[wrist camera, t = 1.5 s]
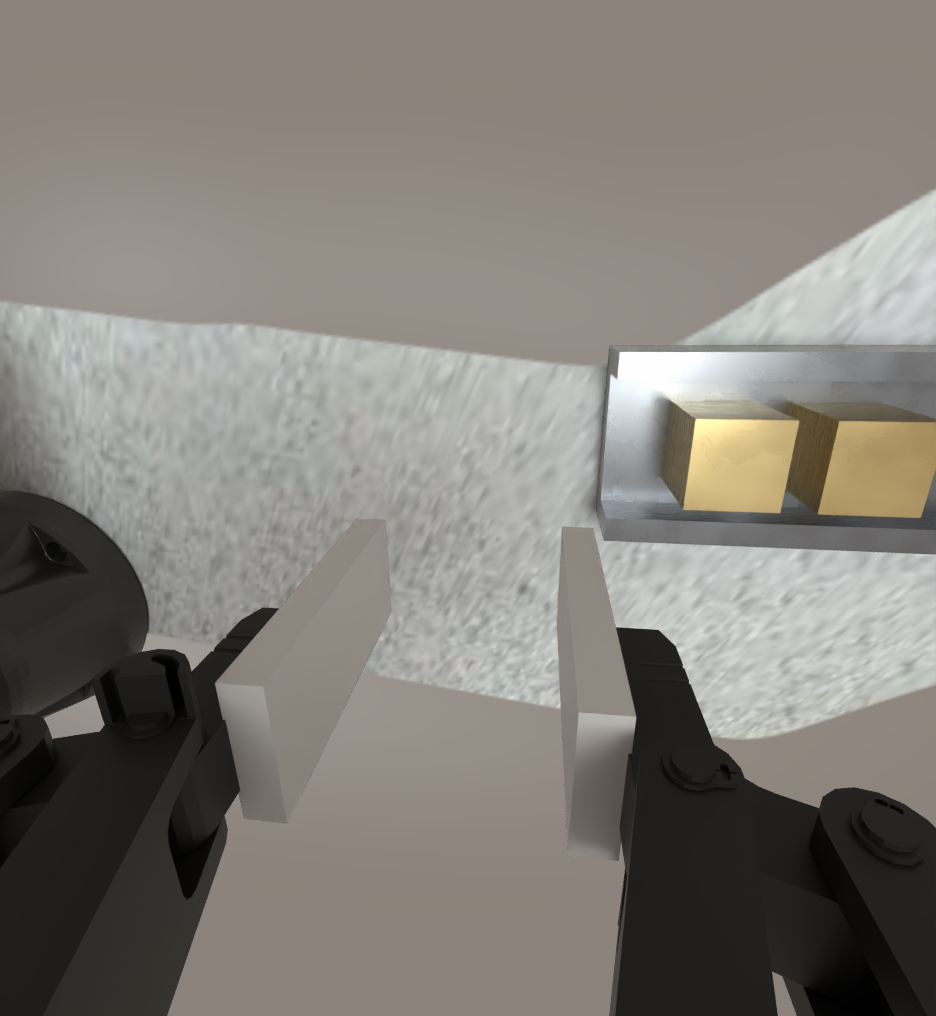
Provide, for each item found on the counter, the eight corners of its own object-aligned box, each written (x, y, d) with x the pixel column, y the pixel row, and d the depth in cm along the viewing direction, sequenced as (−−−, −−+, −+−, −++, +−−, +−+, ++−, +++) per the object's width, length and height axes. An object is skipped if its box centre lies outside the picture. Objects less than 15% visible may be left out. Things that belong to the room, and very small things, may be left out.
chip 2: (775, 482, 27) (817, 514, 23) (791, 402, 26) (839, 420, 22) (861, 484, 27) (920, 518, 22) (882, 403, 25) (949, 422, 21)
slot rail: (596, 511, 30) (603, 540, 27) (609, 345, 27) (619, 352, 24) (926, 523, 28) (984, 556, 25) (982, 345, 25) (1058, 351, 21)
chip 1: (661, 479, 28) (683, 509, 24) (671, 400, 26) (695, 419, 22) (743, 481, 27) (780, 513, 23) (758, 401, 26) (799, 420, 22)
